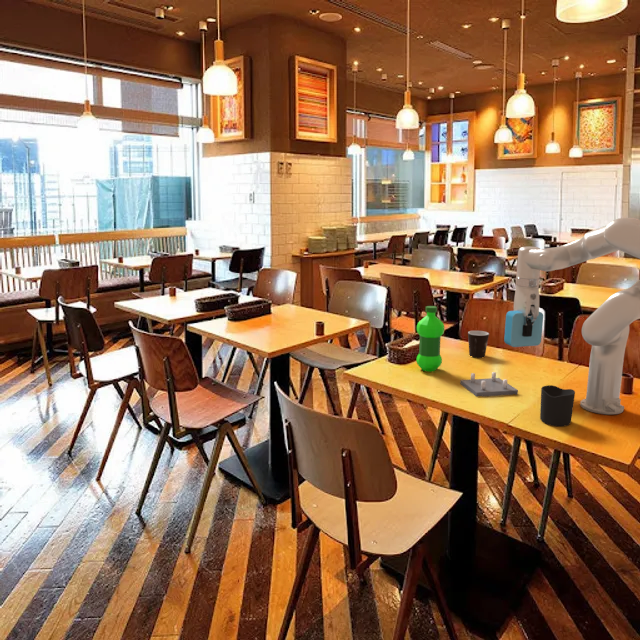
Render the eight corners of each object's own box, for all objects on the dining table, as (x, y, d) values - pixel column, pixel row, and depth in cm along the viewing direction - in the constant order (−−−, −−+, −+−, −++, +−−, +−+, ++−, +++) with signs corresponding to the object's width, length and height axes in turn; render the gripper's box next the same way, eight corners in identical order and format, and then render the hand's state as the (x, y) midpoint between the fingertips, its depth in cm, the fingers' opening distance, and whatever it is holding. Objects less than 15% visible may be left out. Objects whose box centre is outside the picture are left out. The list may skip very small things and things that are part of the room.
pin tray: (517, 394, 204) (518, 381, 203) (476, 396, 202) (477, 384, 201) (498, 381, 218) (499, 370, 217) (460, 384, 215) (460, 372, 214)
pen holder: (561, 415, 185) (564, 384, 183) (578, 426, 176) (581, 394, 174) (533, 416, 184) (535, 385, 182) (548, 428, 175) (551, 396, 173)
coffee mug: (474, 352, 258) (476, 329, 256) (491, 356, 252) (493, 333, 250) (458, 356, 251) (459, 333, 249) (475, 361, 244) (476, 337, 242)
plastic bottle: (443, 374, 227) (446, 309, 222) (415, 372, 228) (417, 309, 223) (441, 366, 237) (444, 305, 231) (415, 365, 238) (417, 304, 233)
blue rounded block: (533, 342, 212) (536, 309, 210) (541, 345, 208) (544, 311, 205) (503, 344, 209) (506, 310, 207) (510, 347, 205) (513, 313, 202)
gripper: (550, 286, 196) (545, 340, 200) (525, 279, 213) (521, 328, 216) (529, 287, 195) (524, 340, 199) (505, 279, 212) (502, 329, 215)
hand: (523, 333), depth 208 cm, fingers closed on blue rounded block, 4 cm apart
